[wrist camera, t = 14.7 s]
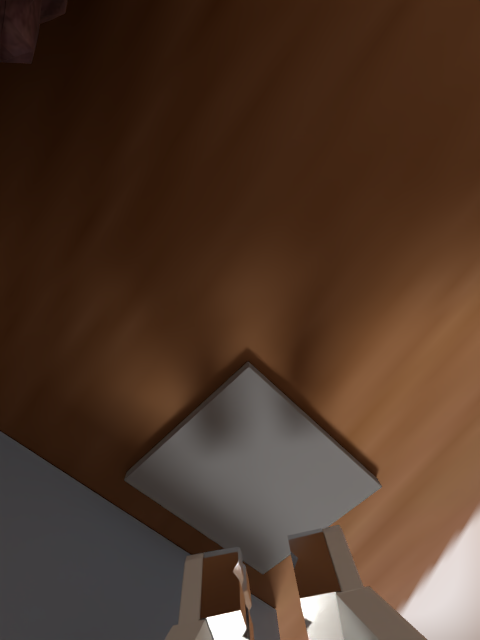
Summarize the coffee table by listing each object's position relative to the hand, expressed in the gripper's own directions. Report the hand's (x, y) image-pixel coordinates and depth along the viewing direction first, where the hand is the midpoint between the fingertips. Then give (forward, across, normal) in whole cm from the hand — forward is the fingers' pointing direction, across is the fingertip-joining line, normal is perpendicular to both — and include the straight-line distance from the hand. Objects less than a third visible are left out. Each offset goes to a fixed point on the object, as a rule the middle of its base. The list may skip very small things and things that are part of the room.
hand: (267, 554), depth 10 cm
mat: (+3, 0, 0) cm, 3 cm away
